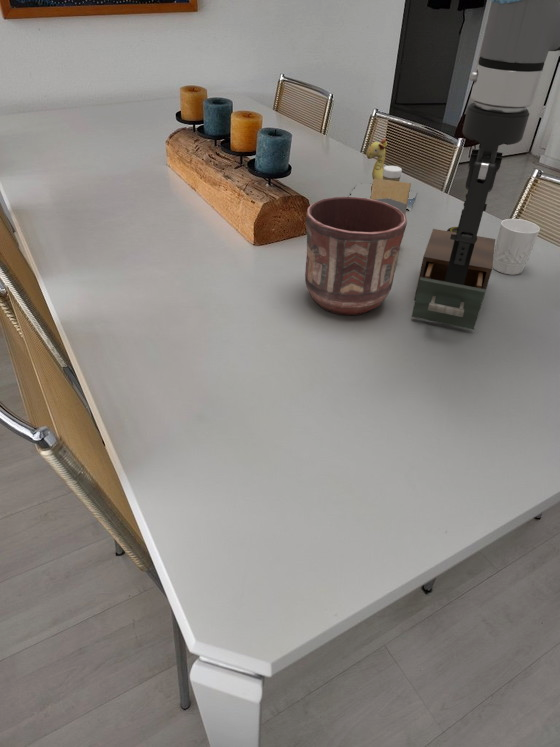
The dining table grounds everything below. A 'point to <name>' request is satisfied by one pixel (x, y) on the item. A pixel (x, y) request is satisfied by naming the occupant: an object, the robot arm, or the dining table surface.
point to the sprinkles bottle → (392, 173)
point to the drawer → (449, 297)
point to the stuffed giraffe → (381, 162)
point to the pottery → (352, 252)
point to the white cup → (514, 245)
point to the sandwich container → (391, 193)
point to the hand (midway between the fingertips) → (457, 266)
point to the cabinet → (442, 249)
